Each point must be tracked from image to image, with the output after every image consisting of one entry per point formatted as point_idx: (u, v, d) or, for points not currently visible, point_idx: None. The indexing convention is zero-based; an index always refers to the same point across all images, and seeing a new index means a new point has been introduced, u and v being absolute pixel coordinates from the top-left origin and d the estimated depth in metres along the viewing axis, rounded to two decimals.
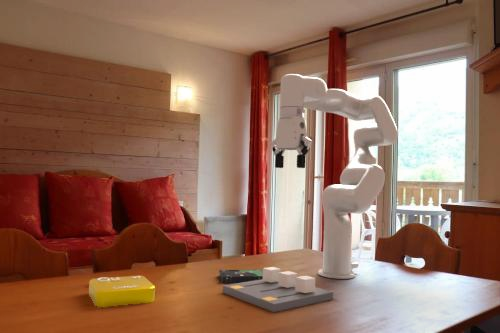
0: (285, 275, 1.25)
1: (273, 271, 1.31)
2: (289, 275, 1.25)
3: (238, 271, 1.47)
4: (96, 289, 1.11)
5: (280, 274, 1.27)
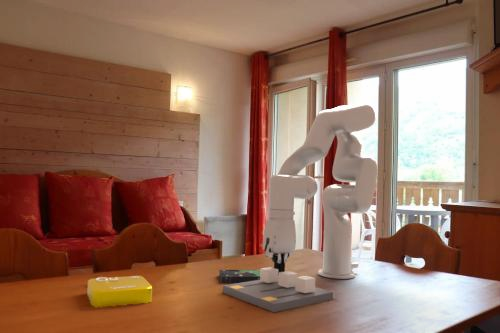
0: (285, 275, 1.25)
1: (270, 271, 1.30)
2: (289, 275, 1.25)
3: (238, 271, 1.47)
4: (93, 289, 1.11)
5: (280, 274, 1.27)
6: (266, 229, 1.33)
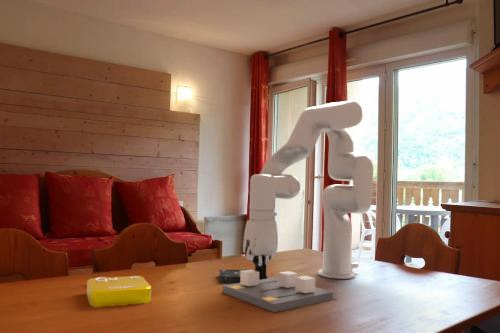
0: (285, 275, 1.25)
1: (251, 274, 1.26)
2: (289, 275, 1.25)
3: (238, 271, 1.47)
4: (92, 289, 1.11)
5: (280, 274, 1.27)
6: (246, 231, 1.28)
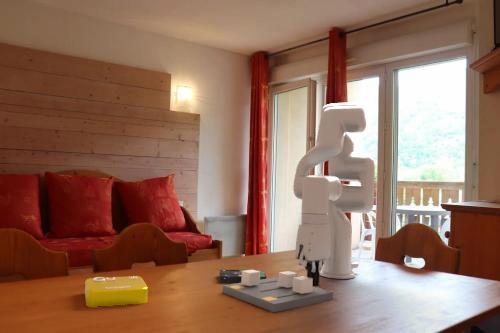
0: (285, 275, 1.25)
1: (252, 274, 1.26)
2: (289, 275, 1.25)
3: (238, 271, 1.47)
4: (88, 289, 1.11)
5: (280, 274, 1.27)
6: (299, 235, 1.22)
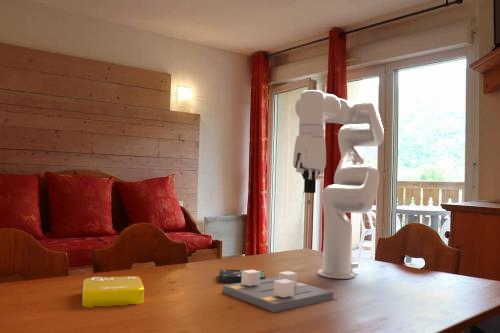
0: (285, 275, 1.25)
1: (252, 274, 1.26)
2: (289, 275, 1.25)
3: (239, 271, 1.47)
4: (84, 289, 1.11)
5: (280, 274, 1.27)
6: (297, 145, 1.31)
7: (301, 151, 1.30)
